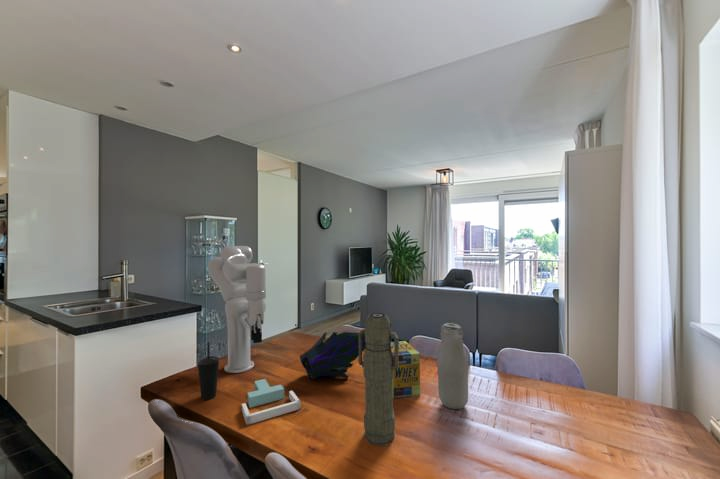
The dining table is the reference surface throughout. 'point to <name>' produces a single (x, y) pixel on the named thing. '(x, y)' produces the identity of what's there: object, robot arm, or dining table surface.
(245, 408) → the dock
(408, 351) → the protein box
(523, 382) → the dining table surface
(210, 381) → the drinking cup
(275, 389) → the t block
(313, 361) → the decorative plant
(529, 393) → the dining table surface
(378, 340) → the thermos
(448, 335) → the pale grey bottle
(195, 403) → the dining table surface
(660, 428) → the dining table surface
